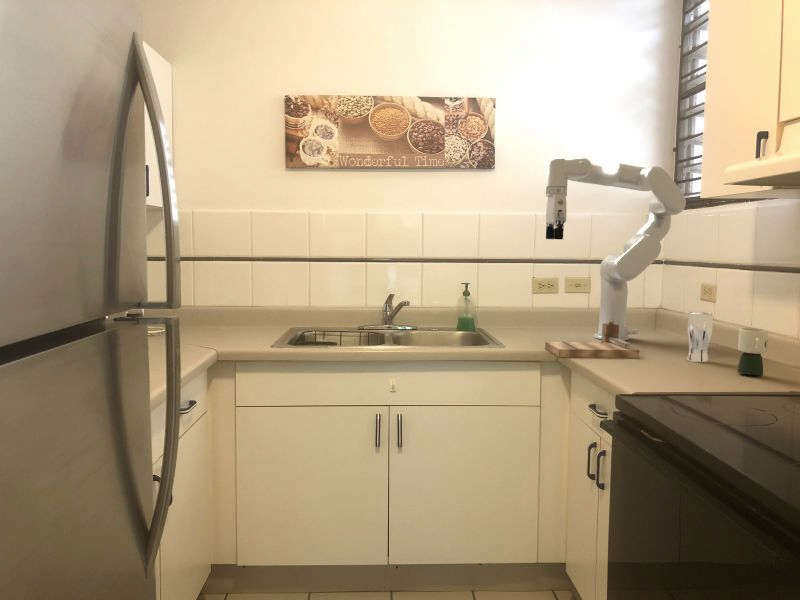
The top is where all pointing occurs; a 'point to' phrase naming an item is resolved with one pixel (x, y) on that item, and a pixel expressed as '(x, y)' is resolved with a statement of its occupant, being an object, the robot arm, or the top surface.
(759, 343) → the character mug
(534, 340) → the top surface
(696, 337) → the beer glass
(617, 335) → the marking gauge
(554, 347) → the oak board
